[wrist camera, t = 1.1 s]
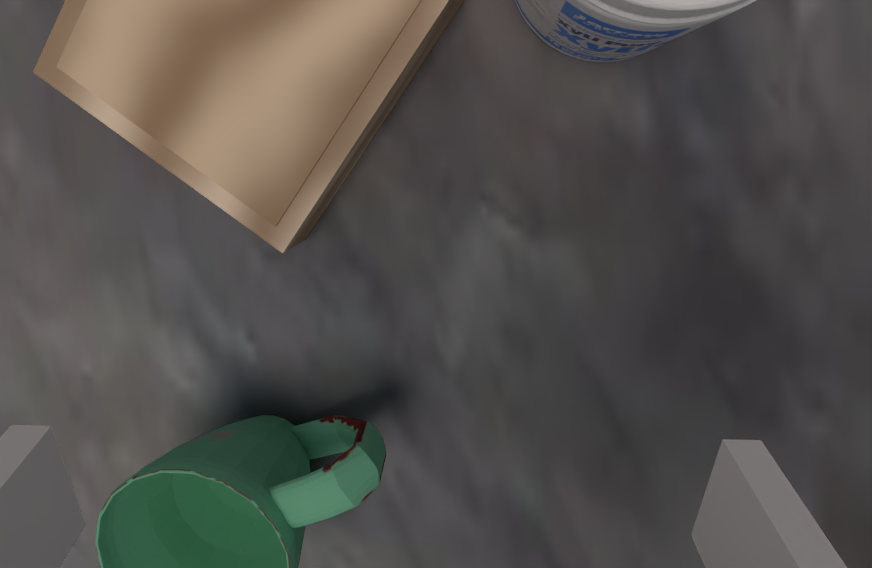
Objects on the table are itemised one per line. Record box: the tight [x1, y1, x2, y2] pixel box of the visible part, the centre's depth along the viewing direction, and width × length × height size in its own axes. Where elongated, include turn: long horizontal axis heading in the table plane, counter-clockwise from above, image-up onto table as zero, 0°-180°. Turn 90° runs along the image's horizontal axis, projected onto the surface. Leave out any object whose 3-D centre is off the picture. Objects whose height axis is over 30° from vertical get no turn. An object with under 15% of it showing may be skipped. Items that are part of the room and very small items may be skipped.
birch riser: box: [33, 0, 464, 253], centre depth 30 cm, size 15×15×4 cm
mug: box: [95, 415, 386, 568], centre depth 33 cm, size 15×10×10 cm
